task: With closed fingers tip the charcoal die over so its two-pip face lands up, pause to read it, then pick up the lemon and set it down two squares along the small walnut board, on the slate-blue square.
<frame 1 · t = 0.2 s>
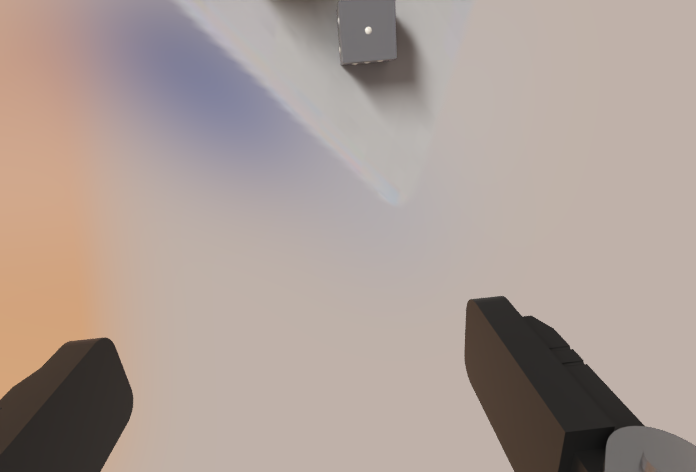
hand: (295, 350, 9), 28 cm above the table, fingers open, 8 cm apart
die: (362, 36, 32), on the table
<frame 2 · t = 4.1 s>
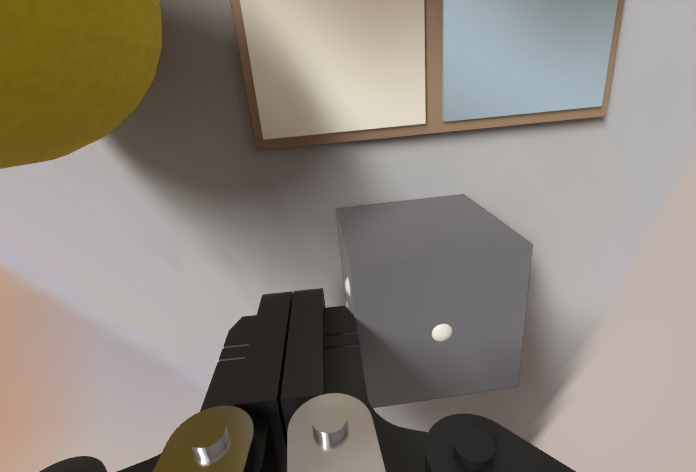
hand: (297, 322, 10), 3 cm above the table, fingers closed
lemon: (98, 23, 10), on the table
die: (402, 259, 13), on the table, touching gripper
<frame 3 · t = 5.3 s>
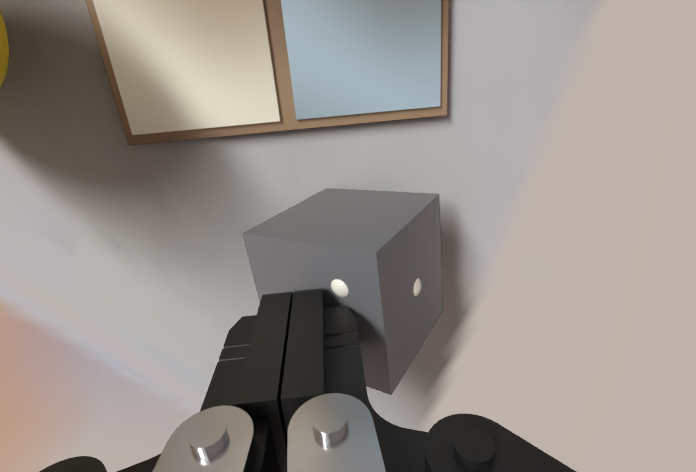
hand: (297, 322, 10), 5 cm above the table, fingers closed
die: (301, 266, 13), point 2 cm above the table, tilted 55°, touching gripper
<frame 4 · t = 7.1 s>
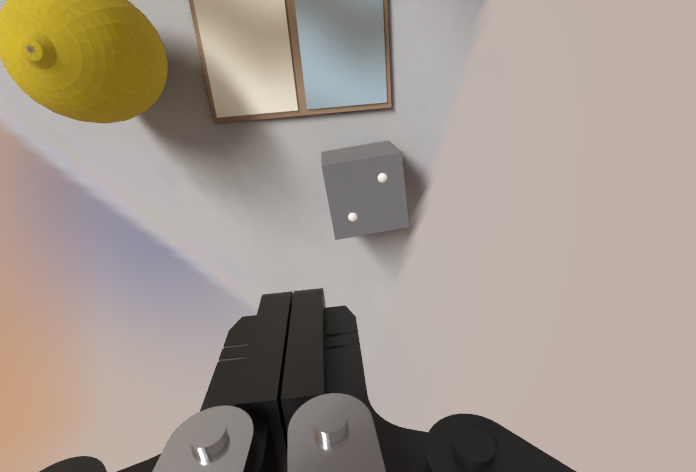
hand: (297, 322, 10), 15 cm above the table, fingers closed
lemon: (136, 60, 21), on the table
board: (291, 15, 20), on the table
die: (328, 193, 22), point 2 cm above the table, tilted 90°
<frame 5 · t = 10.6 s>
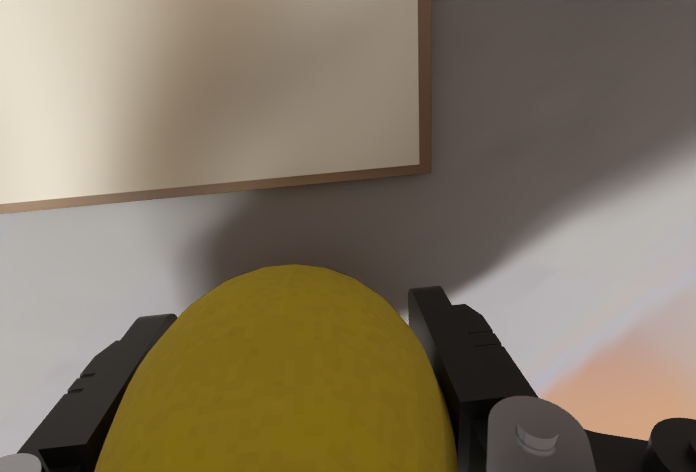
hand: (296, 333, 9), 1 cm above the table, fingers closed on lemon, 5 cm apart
lemon: (300, 305, 11), on the table, touching gripper
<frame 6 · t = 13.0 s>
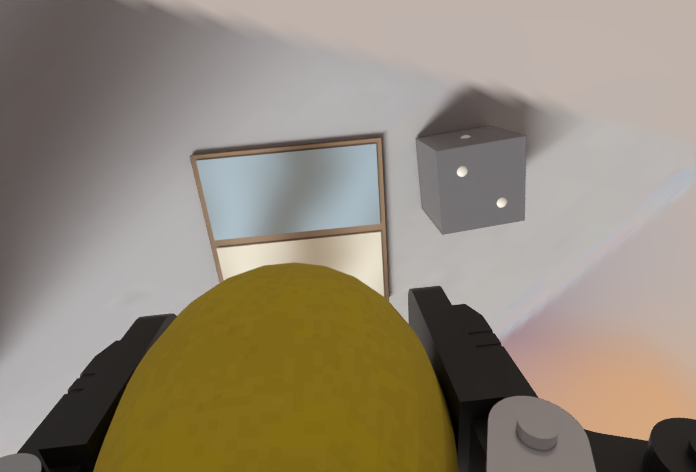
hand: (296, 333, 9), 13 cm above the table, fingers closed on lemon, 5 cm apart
lemon: (300, 303, 11), point 12 cm above the table, touching gripper
board: (298, 233, 22), on the table
die: (468, 213, 20), point 2 cm above the table, tilted 90°
when the fingers open (3 cm above the table, at t = 15.2 s): lemon drops 1 cm, resting on board.
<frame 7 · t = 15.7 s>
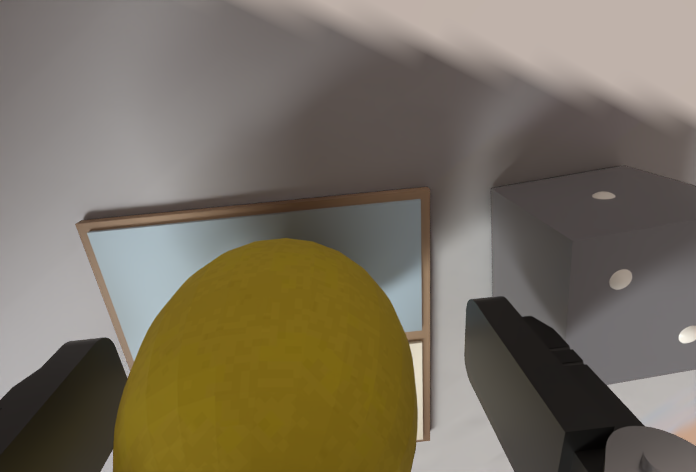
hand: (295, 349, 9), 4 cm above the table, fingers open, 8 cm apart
lemon: (294, 280, 12), resting on board
board: (281, 343, 13), on the table
die: (590, 328, 11), point 2 cm above the table, tilted 90°
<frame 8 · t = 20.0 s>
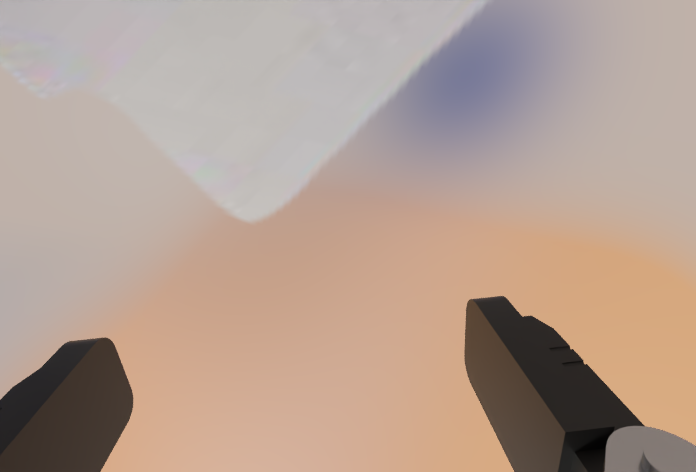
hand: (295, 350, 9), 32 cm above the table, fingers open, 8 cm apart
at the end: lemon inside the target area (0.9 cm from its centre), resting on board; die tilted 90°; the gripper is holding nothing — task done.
